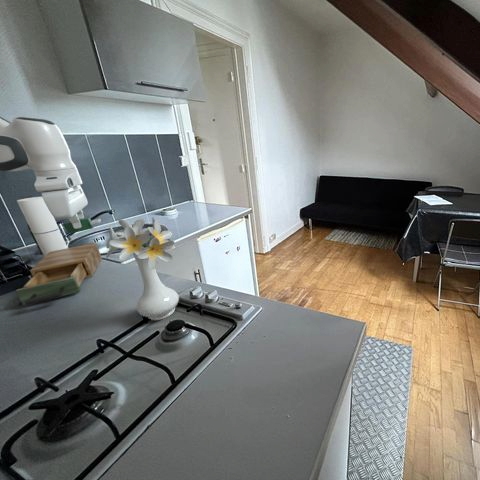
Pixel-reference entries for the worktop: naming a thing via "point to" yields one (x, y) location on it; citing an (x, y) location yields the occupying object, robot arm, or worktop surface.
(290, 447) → the worktop surface
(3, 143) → the robot arm
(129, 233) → the flower vase
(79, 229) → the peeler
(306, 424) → the worktop surface
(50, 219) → the cylindrical container
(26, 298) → the drawer
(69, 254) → the cabinet
